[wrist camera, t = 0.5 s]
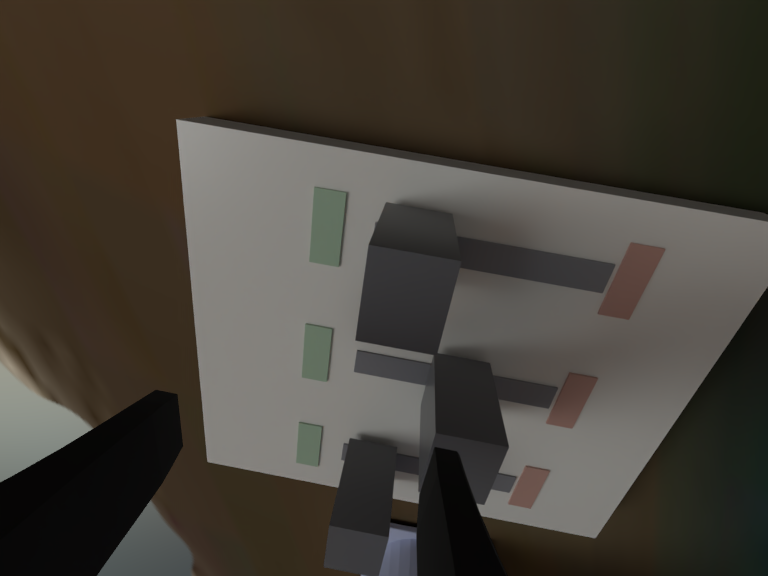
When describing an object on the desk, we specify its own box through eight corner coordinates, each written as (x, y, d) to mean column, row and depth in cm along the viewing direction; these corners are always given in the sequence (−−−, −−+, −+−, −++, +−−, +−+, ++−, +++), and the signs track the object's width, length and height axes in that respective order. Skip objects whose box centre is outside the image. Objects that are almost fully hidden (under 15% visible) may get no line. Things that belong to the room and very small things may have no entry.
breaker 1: (387, 485, 21) (378, 577, 17) (343, 477, 21) (323, 566, 17) (397, 447, 19) (388, 537, 15) (349, 437, 19) (329, 525, 15)
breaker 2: (434, 288, 15) (436, 355, 11) (374, 277, 15) (355, 340, 11) (452, 213, 14) (461, 261, 10) (385, 202, 14) (368, 244, 10)
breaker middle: (472, 414, 18) (484, 505, 14) (420, 404, 18) (418, 491, 14) (490, 363, 16) (509, 447, 12) (434, 352, 16) (435, 433, 12)
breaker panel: (582, 504, 23) (596, 540, 21) (224, 434, 24) (206, 463, 22) (761, 212, 15) (809, 229, 13) (205, 116, 15) (174, 119, 14)
